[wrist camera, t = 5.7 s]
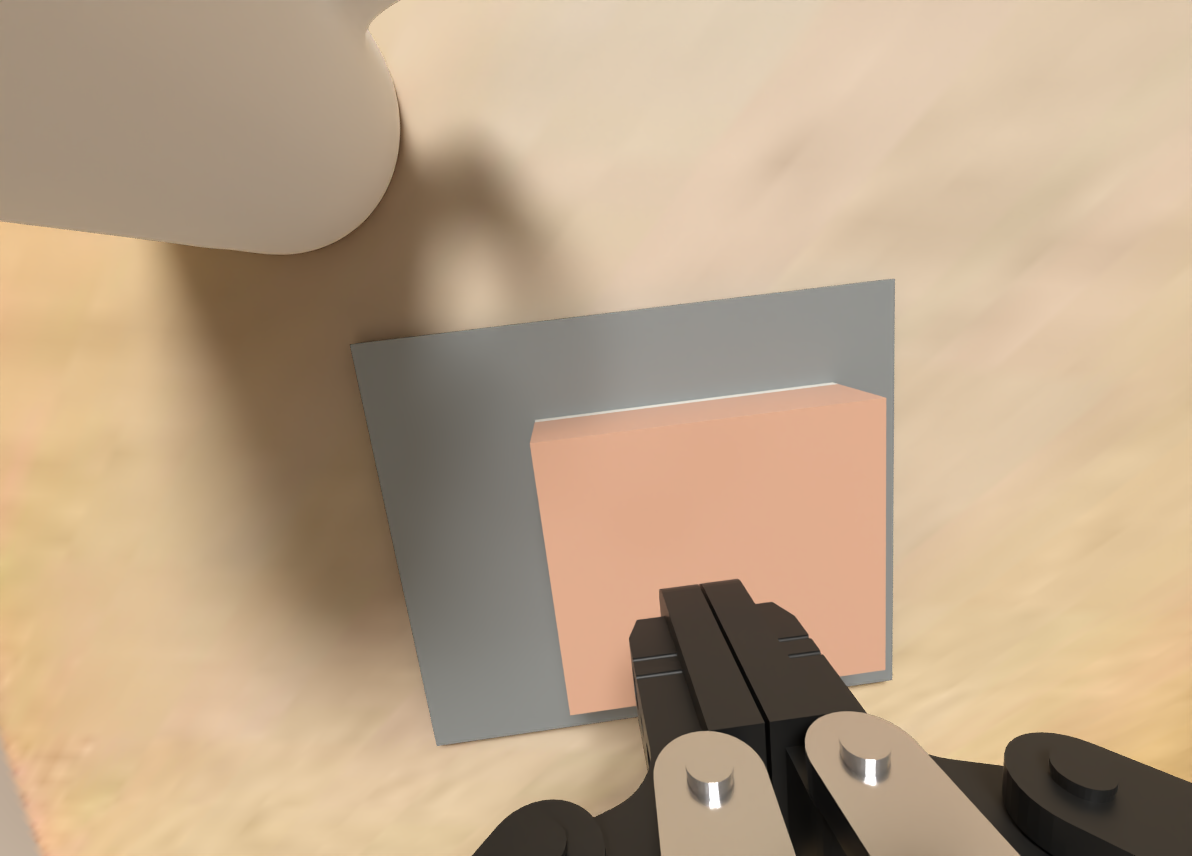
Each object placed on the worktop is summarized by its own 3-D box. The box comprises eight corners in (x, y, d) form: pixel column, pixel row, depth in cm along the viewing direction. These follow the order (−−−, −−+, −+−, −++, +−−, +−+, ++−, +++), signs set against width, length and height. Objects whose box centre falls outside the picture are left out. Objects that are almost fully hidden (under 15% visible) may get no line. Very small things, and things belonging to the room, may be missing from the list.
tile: (535, 420, 14) (832, 382, 15) (568, 652, 16) (837, 615, 16) (529, 443, 12) (886, 397, 12) (570, 715, 14) (885, 669, 14)
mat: (885, 279, 15) (895, 279, 14) (884, 671, 17) (892, 679, 17) (355, 343, 14) (349, 344, 14) (439, 735, 17) (436, 746, 16)
